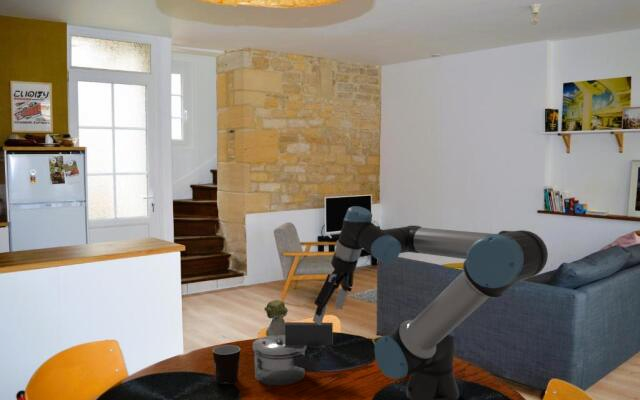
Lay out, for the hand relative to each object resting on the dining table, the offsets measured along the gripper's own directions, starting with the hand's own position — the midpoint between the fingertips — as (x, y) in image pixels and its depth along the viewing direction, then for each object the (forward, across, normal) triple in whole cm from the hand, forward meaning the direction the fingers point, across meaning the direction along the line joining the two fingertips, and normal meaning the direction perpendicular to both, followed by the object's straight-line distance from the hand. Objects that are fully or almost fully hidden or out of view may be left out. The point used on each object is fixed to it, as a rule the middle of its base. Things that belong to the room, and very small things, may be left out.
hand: (327, 314), depth 183 cm
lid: (+15, +4, -7) cm, 17 cm away
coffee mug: (+28, +17, -19) cm, 38 cm away
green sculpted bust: (+32, -12, -20) cm, 40 cm away
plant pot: (+18, -18, +19) cm, 31 cm away
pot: (+23, +8, -4) cm, 25 cm away
